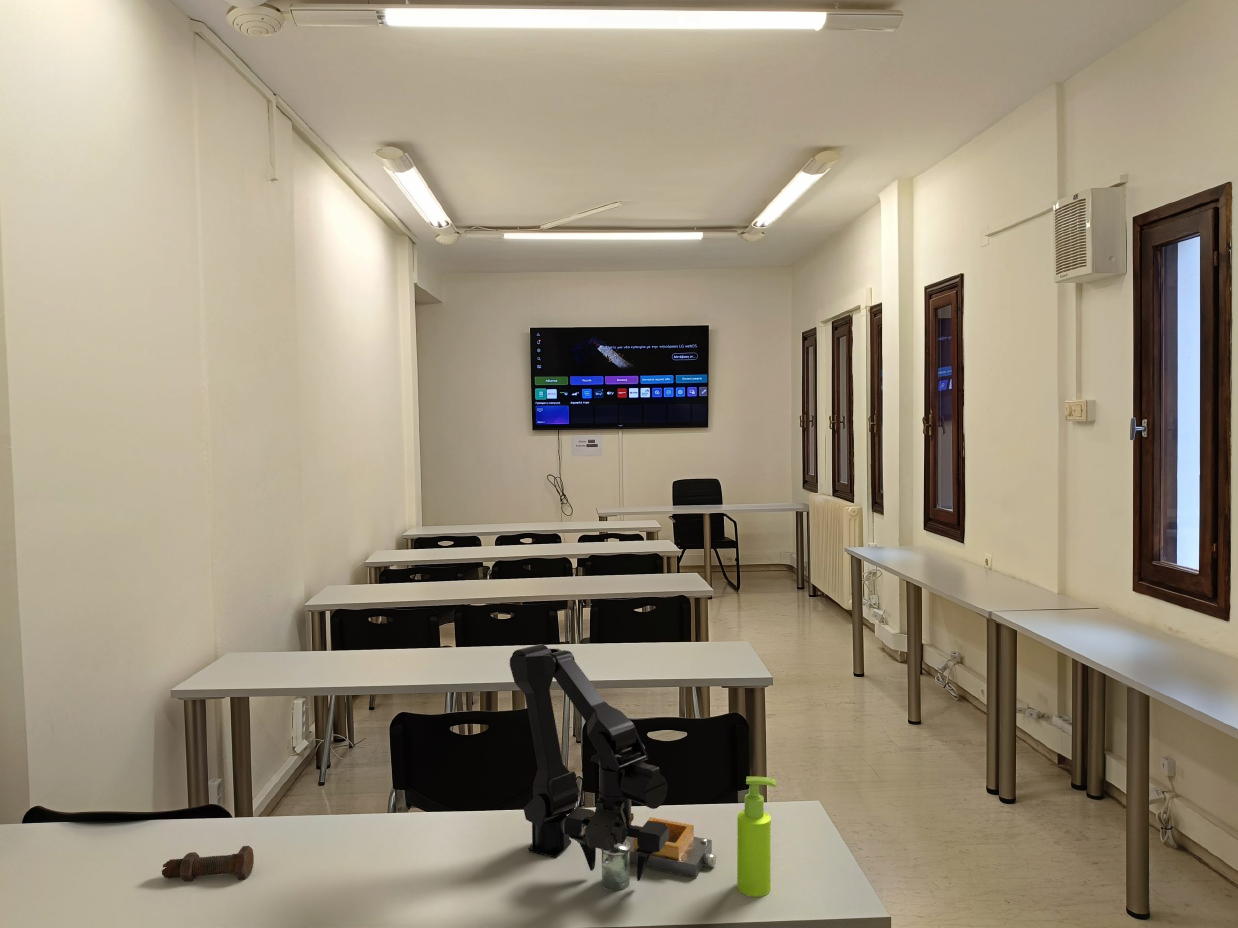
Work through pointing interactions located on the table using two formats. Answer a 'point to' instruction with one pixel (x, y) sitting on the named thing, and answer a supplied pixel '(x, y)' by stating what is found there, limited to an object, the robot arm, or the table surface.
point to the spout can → (616, 867)
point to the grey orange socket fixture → (677, 851)
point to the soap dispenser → (754, 842)
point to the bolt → (210, 865)
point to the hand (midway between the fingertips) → (615, 874)
